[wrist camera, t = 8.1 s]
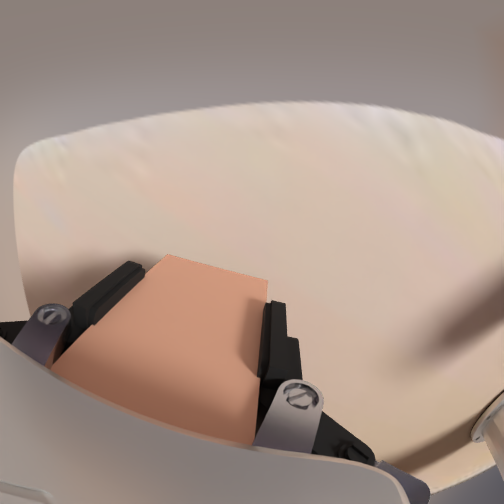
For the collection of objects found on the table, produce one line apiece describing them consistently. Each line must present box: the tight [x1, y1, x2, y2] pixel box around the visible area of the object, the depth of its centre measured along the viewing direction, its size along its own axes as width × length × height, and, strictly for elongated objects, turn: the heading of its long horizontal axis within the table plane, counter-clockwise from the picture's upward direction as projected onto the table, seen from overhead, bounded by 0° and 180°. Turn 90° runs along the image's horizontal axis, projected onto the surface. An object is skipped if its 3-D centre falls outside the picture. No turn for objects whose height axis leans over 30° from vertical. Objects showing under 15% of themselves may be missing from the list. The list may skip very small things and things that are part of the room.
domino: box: [50, 254, 268, 445], centre depth 9 cm, size 2×5×9 cm, turn 76°
